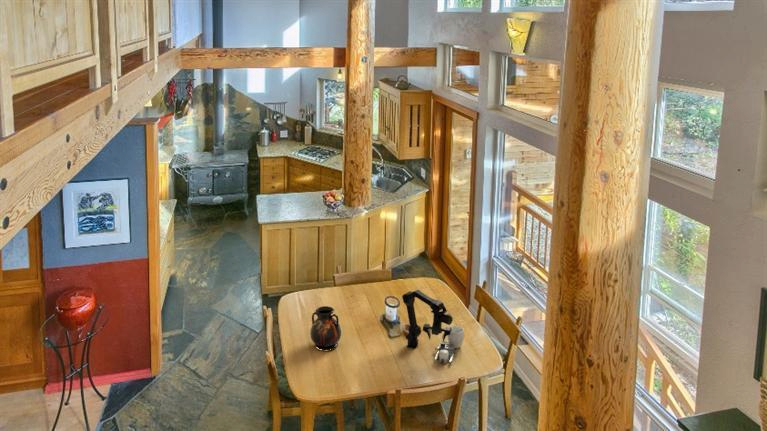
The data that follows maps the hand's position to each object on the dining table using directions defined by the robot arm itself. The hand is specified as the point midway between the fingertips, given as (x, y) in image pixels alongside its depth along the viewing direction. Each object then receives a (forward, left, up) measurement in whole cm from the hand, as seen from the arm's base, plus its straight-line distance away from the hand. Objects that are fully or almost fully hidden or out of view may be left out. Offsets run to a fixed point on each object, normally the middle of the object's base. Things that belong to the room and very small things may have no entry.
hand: (436, 340), depth 436 cm
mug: (+9, +16, -12) cm, 22 cm away
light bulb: (+6, -7, -12) cm, 15 cm away
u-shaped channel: (+5, -1, -11) cm, 12 cm away
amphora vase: (-77, -7, -12) cm, 78 cm away
